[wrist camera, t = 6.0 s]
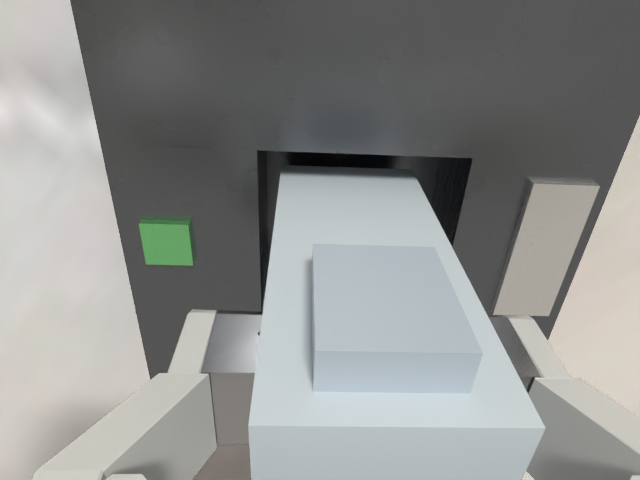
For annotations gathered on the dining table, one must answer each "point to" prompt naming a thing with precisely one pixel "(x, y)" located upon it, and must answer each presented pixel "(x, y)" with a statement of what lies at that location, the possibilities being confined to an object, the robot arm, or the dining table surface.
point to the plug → (378, 343)
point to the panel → (356, 133)
